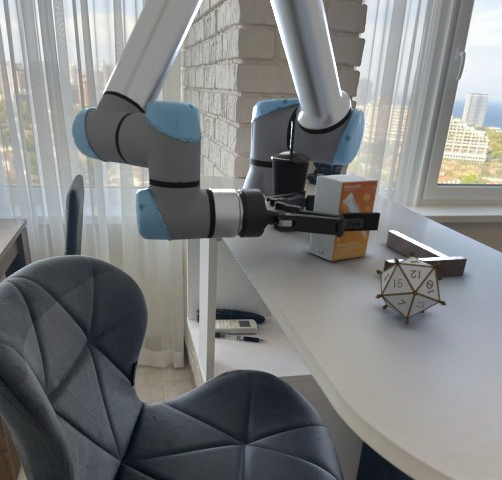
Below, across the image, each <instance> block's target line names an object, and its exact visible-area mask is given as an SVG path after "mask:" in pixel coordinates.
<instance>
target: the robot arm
mask: <svg viewBox="0 0 502 480" xmlns="http://www.w3.org/2000/svg"><path fill="white" fill-rule="evenodd" d="M202 2H203V0H145V3H144V5H143V8H142V9H141V12H140V14H139V16H138V17H137V20H136V22H135V24H134V26H133V29H132V31H131V32H130V35H129V37H128V39H127V42H126V43H125V45H124V48H123V49H122V51H121V53H120V56H119V58H118V61H117V63H116V65H115V67H114V69H113V71H112V72H111V76H110V78H108V79H109V80H108V82H107V84H106V86H105V88H104V90H103V92H102V95H101V97H100V99H99V101H98V103H97V105H96V107H95V106H92V107H89V108H87V107H86V108H84V109H82V110H80V111H79V112H78V113H77V114H76V115H75V116H74V118H73V120H72V125H71V128H72V129H71V135H72V140H73V143H74V145H75V146H76V148H77V150H79V151H80V153H81V154H82V155H84V156H85V157H88V158H91V159H94V160H98V161H101V162H103V163H116V164H123V165H130V166H134V167H137V168H146V169H148V187H145V188H141V189H138V190H137V191H136V194H135V213H136V214H135V215H136V224H137V231H138V233H139V235H140V237H142V238H143V239H144V240H152V241H153V240H156V241H157V240H159V241H168V242H169V241H170V242H172V241H179V240H198V239H199V240H200V239H215V241H216V242H221V241H222V240H223V239H224V238H226V239H230V238H233V239H234V238H236V237H237V236H238V237H239V238H241V239H242V238H245V239H246V238H259V237H261V236H262V235H263V234H264V233H265V229H266V228H267V226H269V225H270V226H272V227H273V228H274V227H275V228H278V230H277V231H278V232H281V233H284V232H296V233H305V234H306V233H307V234H311V233H316V234H326V235H337V237H341V236H343V235H344V231H369V232H371V231H378V230H379V225H380V219H381V212H379V211H373V212H363V213H341V214H340V215H336V214H329V213H322V212H315V211H313V209H314V200H315V194H307V191H306V190H304V191H303V190H300V191H299V195H298V193H296V192H294V193H288V194H281V195H274V196H273V172H272V160H271V156H274V155H276V154H278V153H280V152H283V151H290V142H291V130H292V122H296V125H295V137H294V149H293V151H296V152H300V153H302V154H304V155H305V156H307V157H308V158H310V159H311V162H312V163H317V164H324V165H329V166H330V165H331V166H348V165H349V164H351V163H352V162H353V161H354V160H355V158H356V157H357V155H358V153H359V151H360V149H361V145H362V142H363V138H364V134H365V128H366V114H365V112H364V111H363V110H362V109H359V108H353V106H352V102H351V98H350V95H349V94H348V93H347V92H346V91H345V90H343V89H341V84H340V79H339V75H338V70H337V64H336V60H335V59H336V58H335V54H334V49H333V44H332V40H331V34H330V29H329V24H328V19H327V14H326V10H325V9H326V8H325V4H324V0H270V5H271V7H272V11H273V15H274V17H275V22H276V26H277V28H278V33H279V35H280V39H281V43H282V46H283V49H284V53H285V56H286V61H287V63H288V67H289V71H290V74H291V78H292V81H293V84H294V85H293V86H294V88H295V92H296V94H297V97H293V98H276V99H275V98H273V99H265V100H260V101H258V102H256V103H255V104H254V105H253V108H252V115H251V116H252V117H251V122H250V123H251V136H250V155H249V156H250V159H249V160H250V161H249V169H248V171H247V175H246V177H245V180H244V183H243V186H242V188H239V189H238V190H236V189H235V188H234V187H233V188H232V187H231V188H201V163H202V162H201V161H202V160H201V159H202V157H201V156H202V149H201V148H202V139H203V138H202V137H203V136H202V132H201V114H200V113H201V112H200V109H199V107H198V106H197V104H195V103H194V102H187V101H173V100H158V98H159V96H160V94H161V92H162V89H163V87H164V85H165V83H166V81H167V79H168V76H169V74H170V72H171V69H172V68H173V66H174V63H175V62H176V59H177V57H178V55H179V53H180V50H181V48H182V46H183V43H184V42H185V39H186V38H187V35H188V33H189V30H190V28H191V26H192V24H193V22H194V19H195V17H196V15H197V13H198V12H199V10H200V7H201V4H203V3H202ZM311 162H310V163H311ZM306 194H307V195H306Z"/></svg>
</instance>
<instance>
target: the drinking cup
mask: <svg viewBox="0 0 502 480" xmlns="http://www.w3.org/2000/svg"><path fill="white" fill-rule="evenodd" d="M295 125H296V122H292V130H291V142H290V151H283V152H280V153H278V154H276V155H274V156H271V160H272V172H273V196H274V195H281V194H288V193H294V192H296V193H298V195H299V191H300V190H303V191H305V188H306V184H307V183H306V182H307V176H308V171H309V166H310V163H311V159H310V158H308V157H307V156H305V155H304V154H302V153H300V152H296V151H293V149H294V137H295ZM273 229H274V230H277V231H278V228H275V227H273Z"/></svg>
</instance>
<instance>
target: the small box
mask: <svg viewBox="0 0 502 480" xmlns="http://www.w3.org/2000/svg"><path fill="white" fill-rule="evenodd" d="M378 182H379V180H378V179H375V178H371V177H367V176H363V175H359V174H354V173H349V174H347V173H346V174H329V175H316V183H315V192H314V195H315V200H314V209H313V211H315V212H322V213H329V214H336V215H340V214H341V213H363V212H374V207H375V201H376V195H377V189H378ZM369 238H370V231H344V235H343V236H341V237H337V235H326V234H316V233H310V237H309V245H308V246H309V247H308V252H309V253H310V254H313V255H315V256H318V257H320V258H322V259H325V260H327V261H330V262H336V261H339V260H341V261H342V260H347V259H355V258H360V257H361V258H362V257H366V255H367V248H368V244H369V243H368V242H369Z"/></svg>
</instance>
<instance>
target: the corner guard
mask: <svg viewBox="0 0 502 480" xmlns="http://www.w3.org/2000/svg"><path fill="white" fill-rule="evenodd" d="M385 246H386V247H388V248H390V249H391V250H394V251H395V252H397V253H399V254H400V255H403V256H405V257H406V258H408V257H410V256H411V251H412V250H414V252H415V255H414V257H416V258H418V259H420V260H422V261H424V262H426V263H429V264H431V265H433V266H434V265H435V264H436V262H437V263H439V262H440V266H438V267H436V272H437V277H438V276H442V277H443V278H444V277H459V276H464V273H465V269H466V264H467V261H468V259H467V258H466V257H464V256H459V255H458V256H447V255H446V254H443V253H441V252H440V251H437V250H435V249H433V248H432V247H430V246H427V245H425V244H423V243H421V242H419V241H417V240H415V239H413V238H411V237H409V236H407V235H405V234H403V233H400V232H399V231H396V230H388V233H387V237H386V243H385ZM397 259H398V260H399V262H400V261H402V260H404V259H405V258H400V259H399V258H397ZM394 260H395V259H385V260H384V265H383V269H382V270H383V271H385V270H386V269H388V268H390V267H391V266H393V265H395V264H396V263H395V262H394ZM383 271H382V272H383Z"/></svg>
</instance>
